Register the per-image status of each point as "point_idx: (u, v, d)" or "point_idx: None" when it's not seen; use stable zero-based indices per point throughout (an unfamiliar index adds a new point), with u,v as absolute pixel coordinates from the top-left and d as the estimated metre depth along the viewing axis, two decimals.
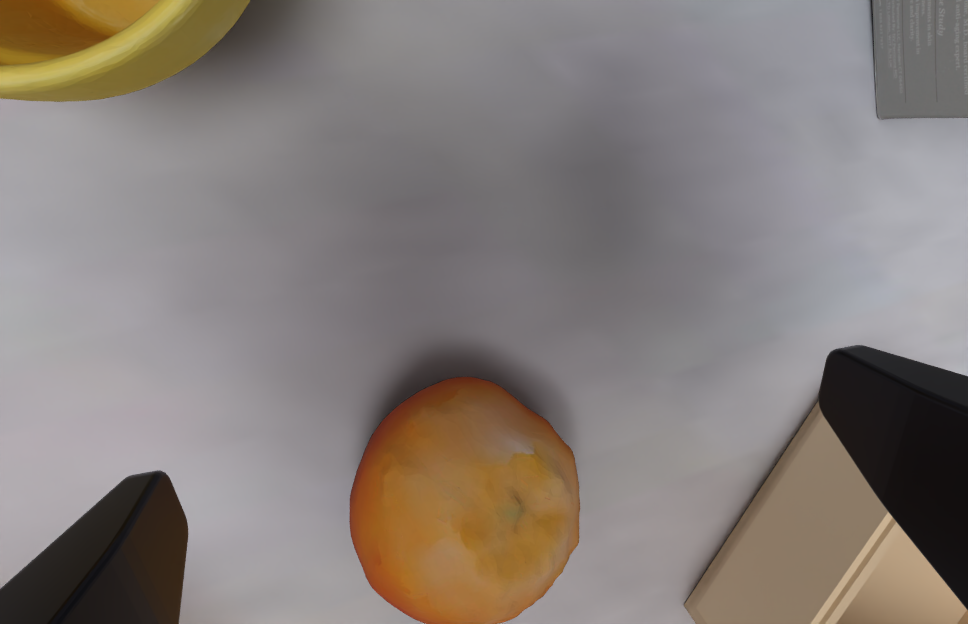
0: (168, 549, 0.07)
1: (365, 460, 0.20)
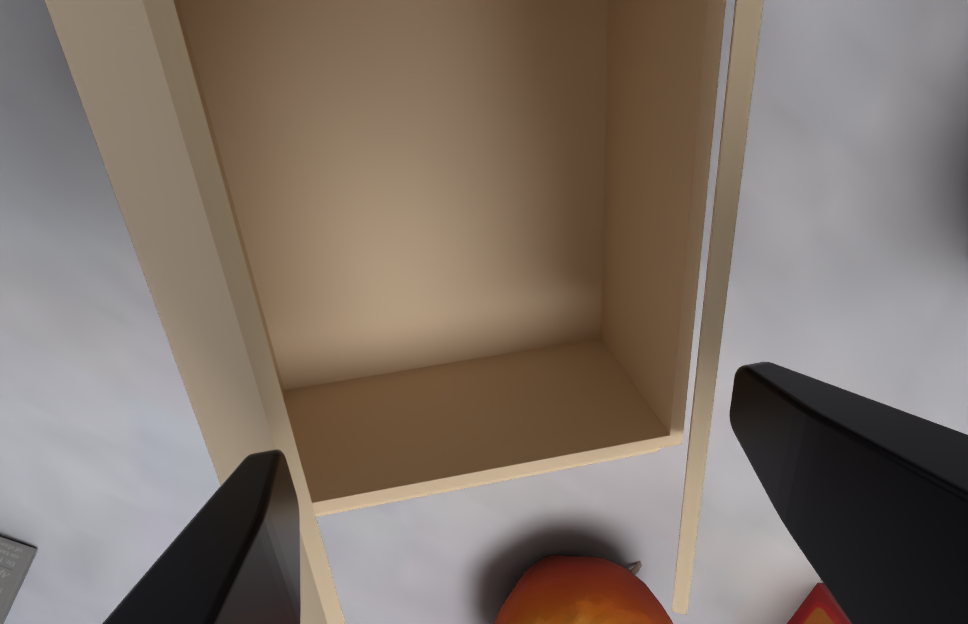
0: (289, 525, 0.08)
1: None
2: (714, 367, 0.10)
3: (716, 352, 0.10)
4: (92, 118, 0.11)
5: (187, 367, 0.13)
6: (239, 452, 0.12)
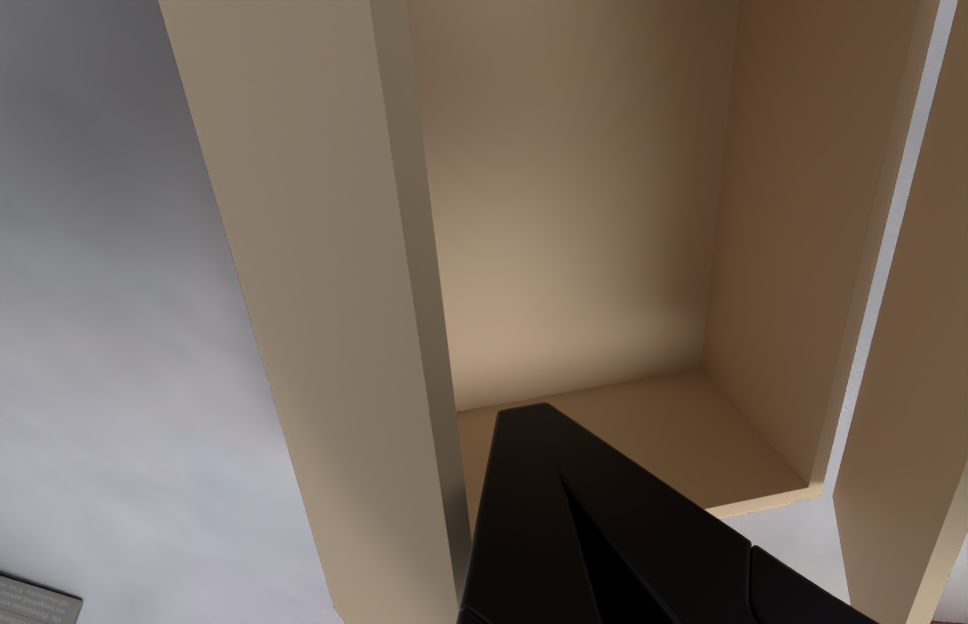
0: None
1: None
2: None
3: None
4: (207, 143, 0.09)
5: (300, 435, 0.11)
6: (370, 547, 0.10)
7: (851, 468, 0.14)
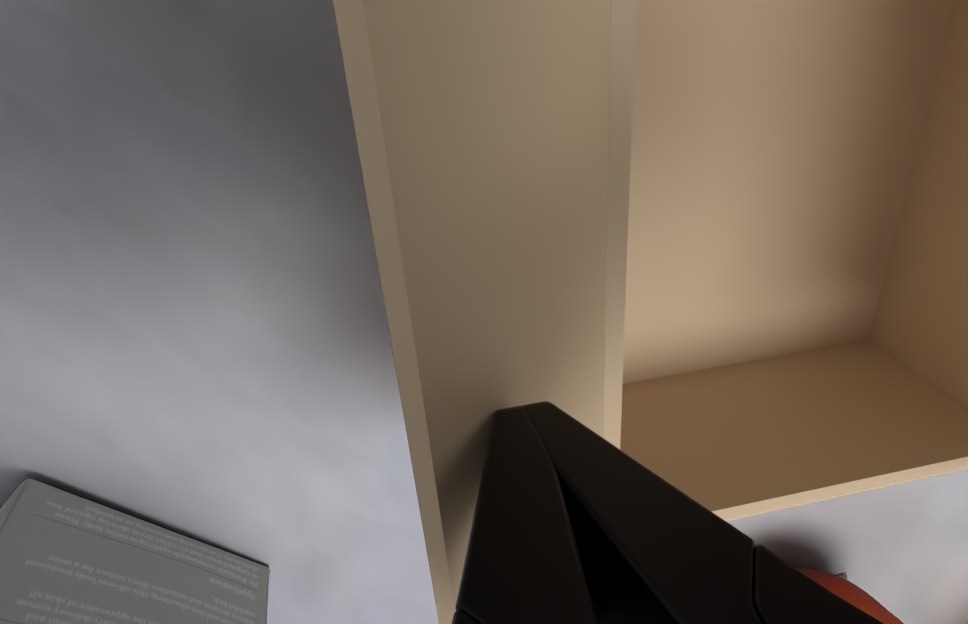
0: None
1: None
2: None
3: None
4: None
5: None
6: None
7: None
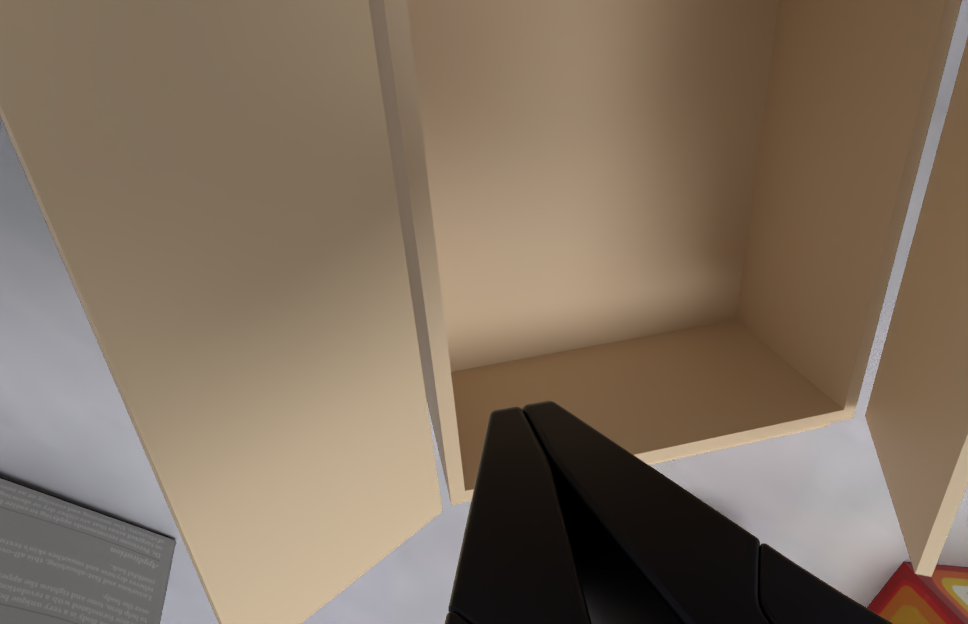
0: None
1: None
2: None
3: None
4: None
5: None
6: None
7: (885, 385, 0.16)
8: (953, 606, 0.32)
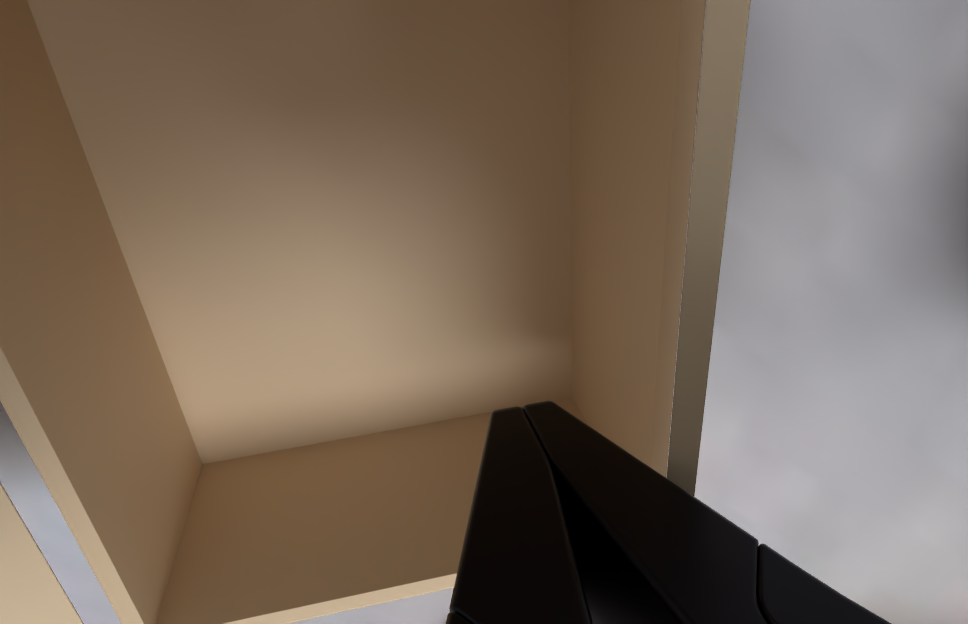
0: None
1: None
2: None
3: None
4: None
5: None
6: None
7: None
8: None
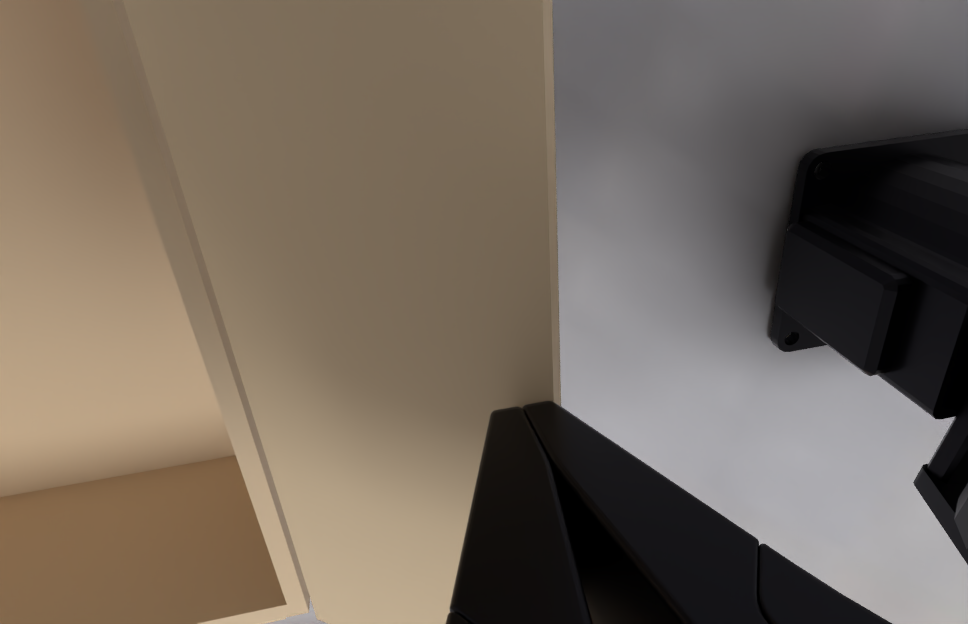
0: None
1: None
2: None
3: None
4: None
5: None
6: None
7: (337, 578, 0.13)
8: None
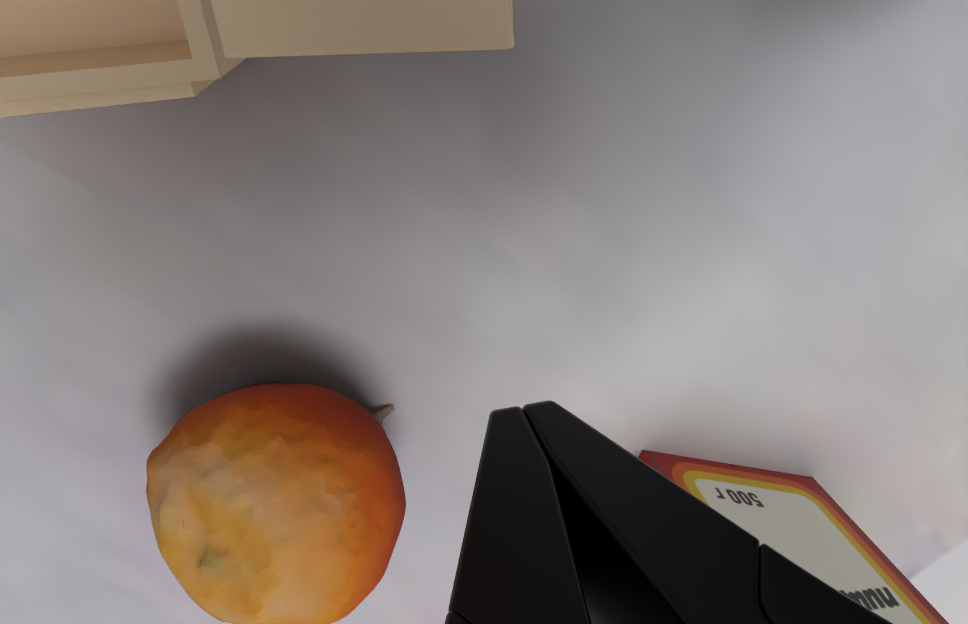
0: None
1: None
2: None
3: None
4: None
5: None
6: None
7: None
8: None
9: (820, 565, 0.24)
